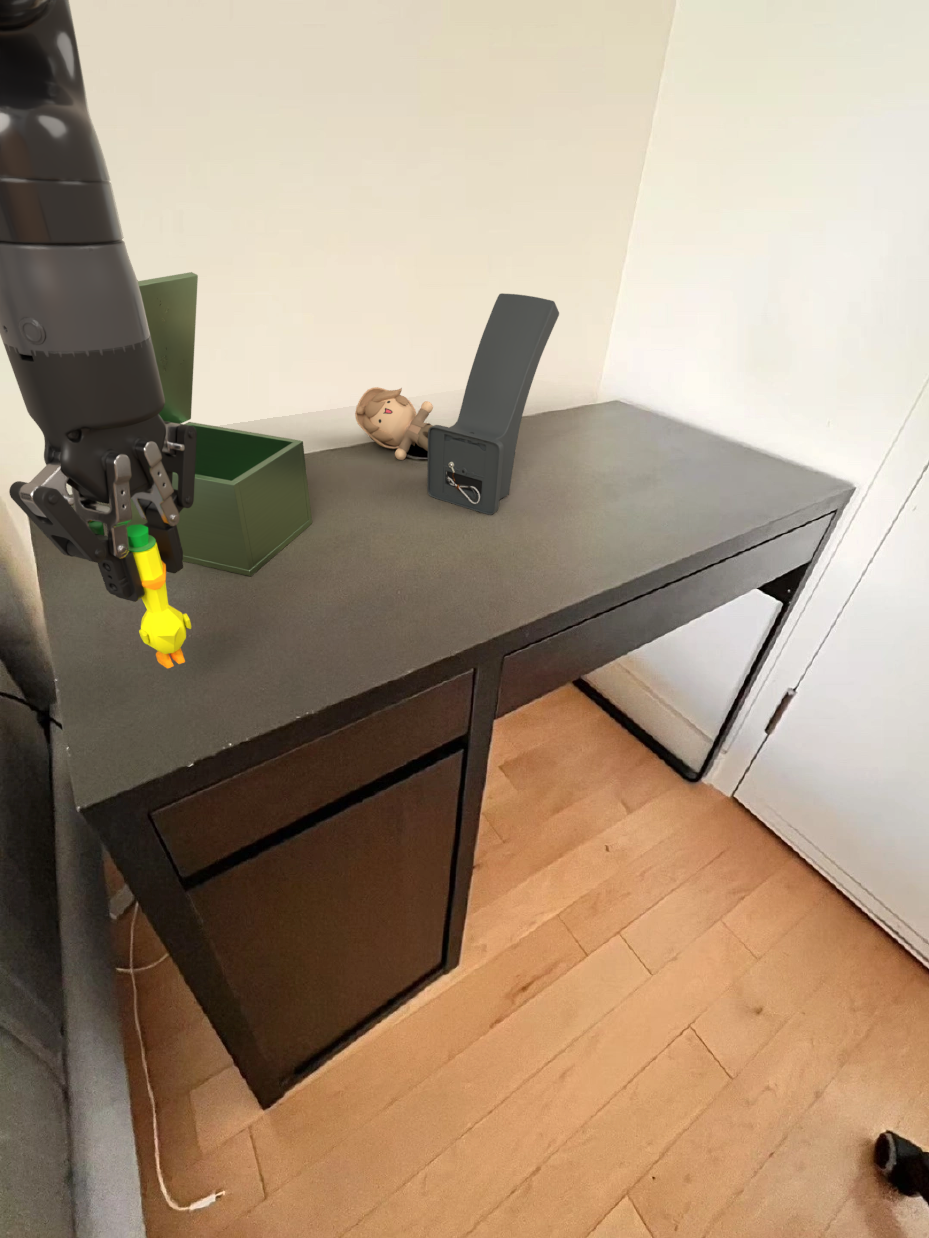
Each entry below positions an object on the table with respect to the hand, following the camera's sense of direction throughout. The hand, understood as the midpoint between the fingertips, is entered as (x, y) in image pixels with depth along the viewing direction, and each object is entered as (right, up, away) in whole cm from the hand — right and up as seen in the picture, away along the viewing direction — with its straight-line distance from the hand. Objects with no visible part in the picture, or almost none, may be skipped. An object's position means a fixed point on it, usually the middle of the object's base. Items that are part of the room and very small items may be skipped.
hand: (149, 581), depth 45 cm
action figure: (+14, +24, +54) cm, 60 cm away
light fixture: (+27, +17, +45) cm, 55 cm away
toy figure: (0, -6, +4) cm, 7 cm away
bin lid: (-9, +24, +19) cm, 32 cm away
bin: (-6, +7, +29) cm, 30 cm away
